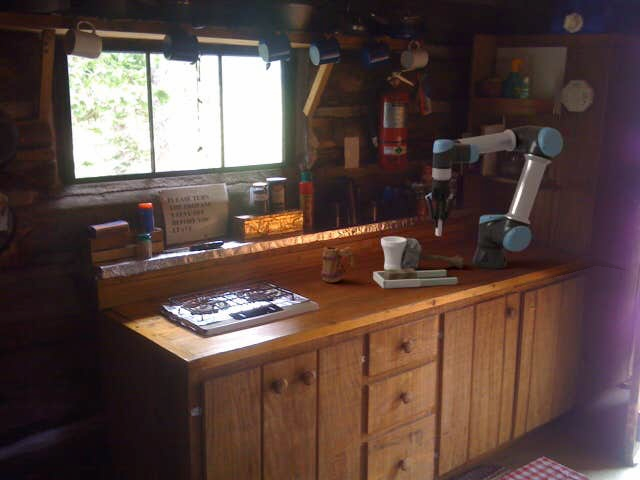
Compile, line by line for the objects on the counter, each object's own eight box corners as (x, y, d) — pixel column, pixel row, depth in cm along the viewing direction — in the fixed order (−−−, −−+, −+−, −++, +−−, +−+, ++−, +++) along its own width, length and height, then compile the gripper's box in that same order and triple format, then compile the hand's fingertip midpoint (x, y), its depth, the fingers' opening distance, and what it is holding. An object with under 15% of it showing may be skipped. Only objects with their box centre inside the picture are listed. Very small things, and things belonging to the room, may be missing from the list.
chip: (411, 279, 292) (412, 268, 291) (416, 284, 286) (417, 272, 285) (397, 280, 291) (398, 269, 290) (402, 284, 285) (403, 273, 284)
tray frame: (407, 276, 296) (408, 270, 295) (419, 286, 283) (420, 279, 282) (373, 278, 292) (373, 271, 292) (383, 288, 279) (383, 281, 278)
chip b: (397, 280, 291) (398, 269, 289) (402, 284, 285) (403, 273, 284) (383, 281, 289) (384, 269, 288) (388, 285, 284) (388, 273, 282)
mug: (317, 282, 286) (317, 246, 282) (323, 277, 293) (324, 242, 290) (351, 286, 281) (352, 250, 277) (357, 281, 288) (358, 245, 285)
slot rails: (444, 275, 299) (445, 269, 298) (457, 284, 287) (457, 278, 286) (409, 277, 295) (409, 271, 295) (420, 286, 283) (420, 280, 283)
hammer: (465, 277, 306) (404, 271, 297) (453, 275, 316) (393, 270, 306) (468, 243, 307) (407, 237, 297) (456, 243, 316) (396, 237, 306)
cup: (377, 267, 309) (378, 236, 305) (401, 267, 310) (402, 236, 307) (383, 274, 298) (384, 242, 295) (408, 274, 300) (410, 241, 296)
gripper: (452, 176, 286) (449, 232, 292) (422, 177, 283) (420, 233, 289) (460, 179, 279) (456, 236, 285) (429, 180, 276) (426, 238, 282)
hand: (438, 235), depth 287 cm, fingers closed
